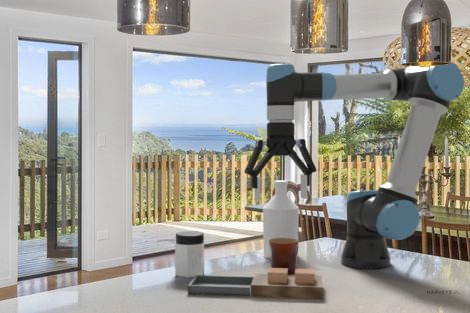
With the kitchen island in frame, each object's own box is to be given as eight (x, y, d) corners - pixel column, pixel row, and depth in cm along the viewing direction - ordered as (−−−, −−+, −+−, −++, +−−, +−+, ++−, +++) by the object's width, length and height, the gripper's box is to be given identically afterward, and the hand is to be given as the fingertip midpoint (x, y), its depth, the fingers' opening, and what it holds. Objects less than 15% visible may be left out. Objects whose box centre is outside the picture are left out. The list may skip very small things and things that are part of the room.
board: (321, 286, 161) (321, 275, 161) (322, 299, 149) (322, 287, 149) (255, 284, 163) (255, 273, 163) (250, 296, 152) (250, 285, 151)
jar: (180, 279, 169) (179, 237, 169) (170, 272, 177) (170, 232, 176) (209, 275, 173) (209, 234, 172) (199, 269, 180) (199, 230, 180)
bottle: (300, 252, 204) (300, 179, 203) (296, 260, 192) (296, 183, 191) (266, 251, 207) (266, 179, 205) (259, 258, 195) (259, 182, 194)
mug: (289, 281, 167) (289, 244, 166) (262, 276, 172) (262, 241, 171) (309, 272, 177) (309, 238, 176) (284, 268, 182) (284, 234, 181)
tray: (253, 284, 163) (253, 276, 163) (249, 296, 152) (249, 287, 152) (196, 282, 165) (196, 275, 165) (187, 294, 154) (187, 285, 154)
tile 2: (314, 278, 158) (314, 269, 158) (314, 283, 153) (314, 273, 153) (295, 277, 158) (295, 268, 158) (294, 282, 153) (294, 273, 153)
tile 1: (287, 277, 159) (287, 268, 159) (286, 282, 154) (287, 272, 154) (268, 277, 159) (268, 267, 159) (267, 281, 154) (267, 272, 154)
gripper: (316, 121, 170) (316, 195, 171) (232, 122, 162) (233, 199, 164) (328, 121, 163) (328, 198, 164) (241, 121, 155) (242, 203, 156)
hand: (281, 199), depth 164 cm, fingers open, 13 cm apart
